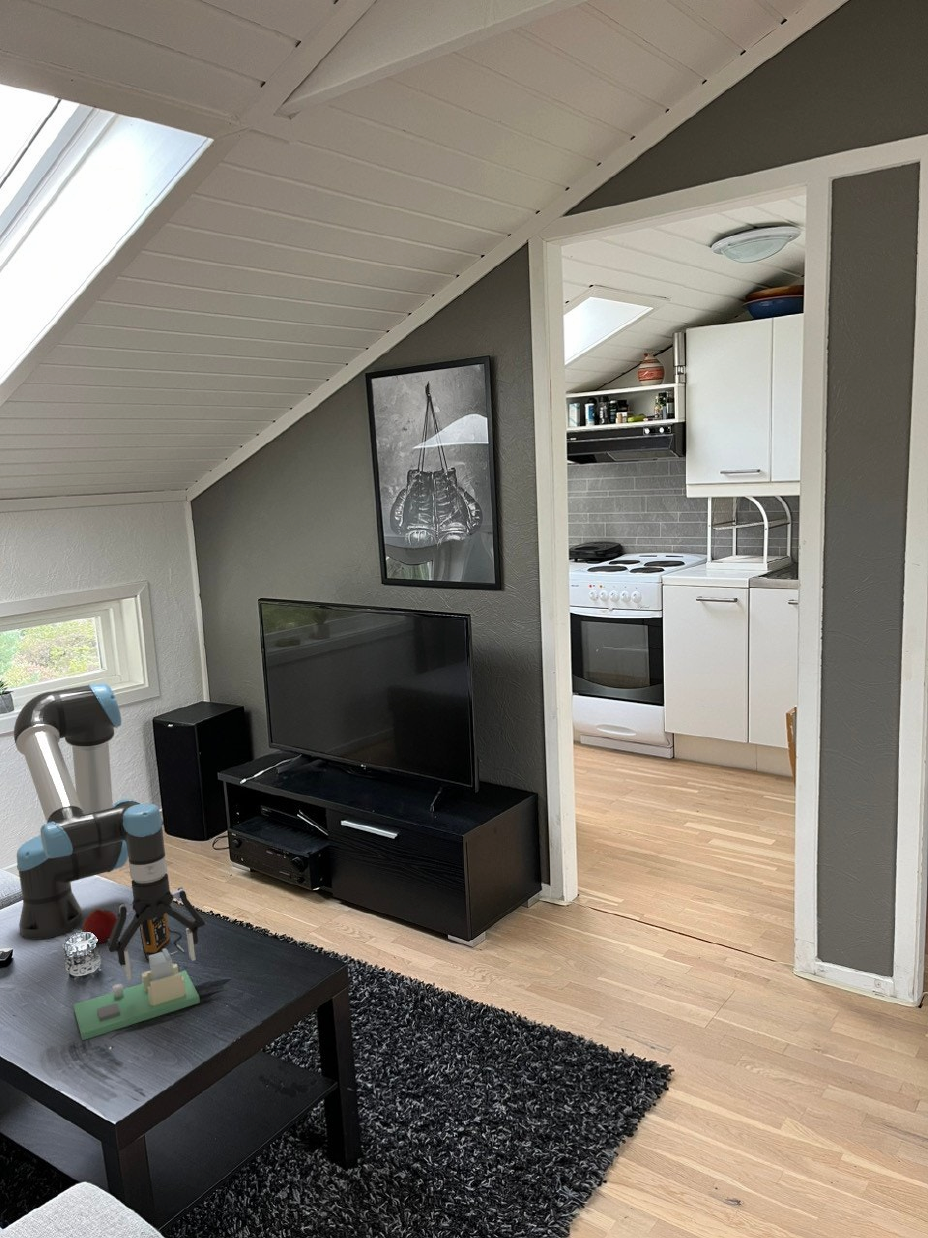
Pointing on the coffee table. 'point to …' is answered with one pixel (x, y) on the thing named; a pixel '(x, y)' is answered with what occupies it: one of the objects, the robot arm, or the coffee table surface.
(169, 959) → the plug
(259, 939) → the coffee table surface
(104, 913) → the apple
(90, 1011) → the board
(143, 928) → the multimeter
